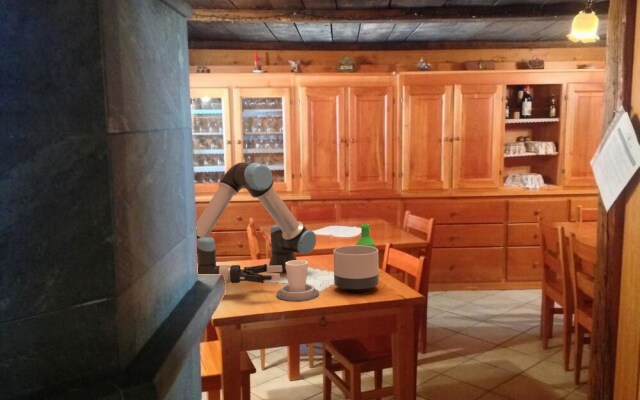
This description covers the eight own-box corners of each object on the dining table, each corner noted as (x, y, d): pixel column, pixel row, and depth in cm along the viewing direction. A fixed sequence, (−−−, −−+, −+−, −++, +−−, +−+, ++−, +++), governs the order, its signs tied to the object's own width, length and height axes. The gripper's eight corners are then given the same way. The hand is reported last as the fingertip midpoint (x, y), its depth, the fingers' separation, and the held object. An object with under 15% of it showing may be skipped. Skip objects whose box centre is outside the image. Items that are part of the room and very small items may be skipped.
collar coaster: (268, 294, 229) (267, 288, 229) (301, 286, 241) (301, 279, 240) (293, 304, 215) (293, 297, 215) (327, 294, 227) (327, 288, 227)
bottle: (374, 278, 251) (373, 225, 248) (355, 278, 252) (354, 225, 249) (376, 273, 259) (375, 222, 256) (358, 273, 261) (357, 222, 258)
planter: (384, 294, 226) (384, 252, 224) (340, 298, 222) (339, 256, 220) (371, 282, 245) (370, 244, 243) (329, 285, 241) (328, 246, 239)
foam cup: (313, 292, 228) (312, 262, 226) (297, 297, 221) (296, 266, 220) (297, 288, 234) (296, 259, 233) (281, 293, 228) (280, 263, 226)
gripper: (235, 275, 240) (283, 273, 240) (226, 291, 215) (279, 289, 215) (234, 258, 239) (282, 257, 239) (225, 273, 214) (278, 271, 214)
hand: (281, 272), depth 227 cm, fingers open, 13 cm apart
